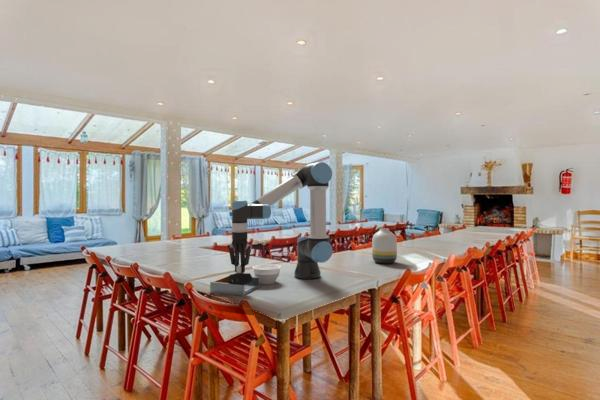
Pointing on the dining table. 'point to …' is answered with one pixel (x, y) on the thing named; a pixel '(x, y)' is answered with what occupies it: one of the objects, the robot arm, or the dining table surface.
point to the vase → (384, 246)
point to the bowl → (267, 272)
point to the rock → (240, 278)
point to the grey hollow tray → (233, 286)
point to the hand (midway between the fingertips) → (239, 279)
